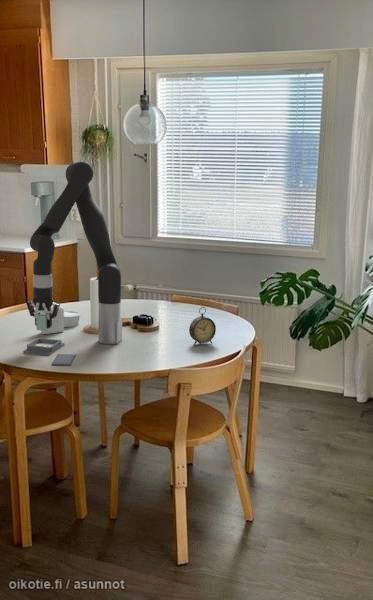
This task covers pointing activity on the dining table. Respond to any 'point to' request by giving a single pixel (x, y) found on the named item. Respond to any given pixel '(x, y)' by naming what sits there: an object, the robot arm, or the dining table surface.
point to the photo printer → (56, 322)
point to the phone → (63, 359)
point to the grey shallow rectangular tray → (43, 346)
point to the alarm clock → (202, 329)
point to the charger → (41, 322)
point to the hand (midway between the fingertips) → (43, 327)
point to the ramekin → (71, 318)
